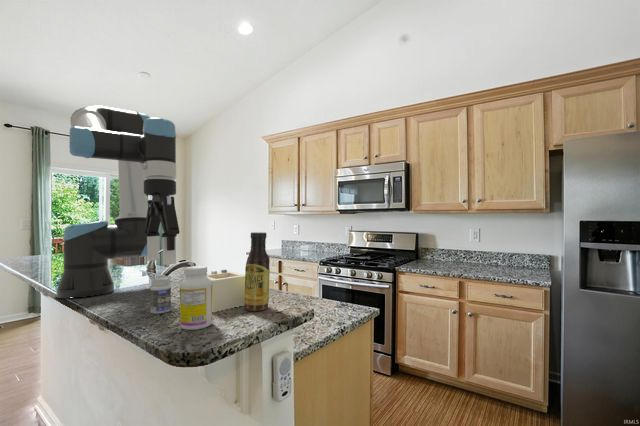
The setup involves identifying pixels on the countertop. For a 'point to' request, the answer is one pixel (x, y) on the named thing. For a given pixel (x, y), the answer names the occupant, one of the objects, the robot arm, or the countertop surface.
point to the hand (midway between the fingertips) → (160, 262)
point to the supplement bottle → (195, 299)
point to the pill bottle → (160, 295)
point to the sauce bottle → (257, 274)
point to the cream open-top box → (227, 289)
